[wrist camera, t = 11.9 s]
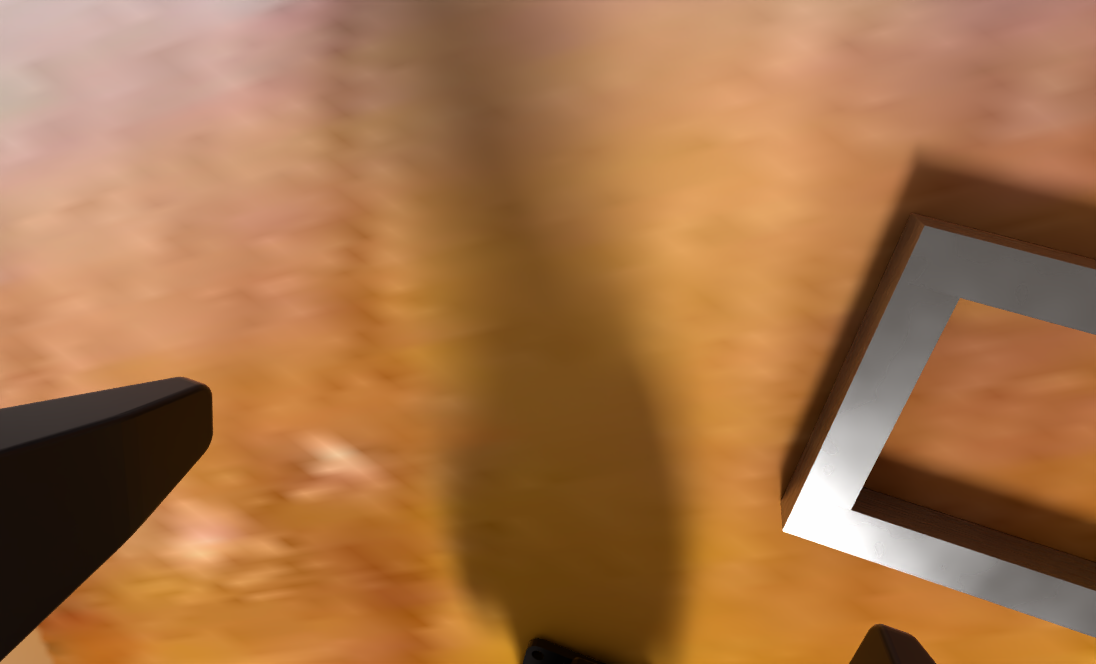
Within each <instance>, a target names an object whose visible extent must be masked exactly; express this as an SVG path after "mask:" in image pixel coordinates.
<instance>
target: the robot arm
mask: <svg viewBox="0 0 1096 664" xmlns="http://www.w3.org/2000/svg"><path fill="white" fill-rule="evenodd" d="M212 436H213V410H212V392H211V390H210V388H209V387H208V386H207V385H205V384H203V383H200V382H197V381H194V380H191V379H189V378H185V377H175V378H169V379H164V380H158V381H152V382H147V383H141V384H136V385H130V386H125V387H119V388H113V389H108V390H102V391H97V392H91V393H86V394H80V395H75V396H69V397H63V398H58V399H52V400H47V401H41V402H36V403H30V404H25V405H19V406H13V407H8V408H2V409H0V662H1V661H2V660H3V659H4V658H5V656H7V655H8V654H9V653H10V652H11V651H12V650H13V649H14V648H15V647H16V646H17V645H18V644H19V643H20V642H22V641H23V640H24V639H25V637H27V636H28V635H29V634H30V633H31V632H32V631H33V630H34V629H35V628H36V627H37V626H38V625H39V624H40V623H41V622H43V621H44V620H45V619H46V618H47V617H48V616H49V615H50V614H51V613H52V612H53V611H54V610H55V609H56V608H57V607H58V606H59V605H60V604H61V603H62V602H64V601H65V600H66V599H67V598H68V597H69V596H70V595H71V594H72V593H73V592H74V591H75V590H76V589H77V588H78V587H79V586H80V585H81V584H82V583H83V582H84V581H86V580H87V579H88V578H89V577H90V576H91V575H92V574H93V573H94V572H95V571H96V570H97V569H98V568H99V567H100V566H101V565H102V564H103V563H104V562H105V561H107V560H108V559H109V558H110V557H111V556H112V555H113V554H114V553H115V552H116V551H117V550H118V549H119V548H120V547H121V546H122V545H123V544H124V543H125V542H126V541H127V540H128V539H129V538H130V537H131V536H132V535H133V534H134V533H135V532H136V531H137V529H138V528H139V527H140V526H141V525H142V524H143V523H144V522H145V521H146V520H147V518H148V517H149V516H150V515H151V514H152V513H153V512H154V510H155V509H156V508H157V507H158V506H159V505H160V504H161V502H162V501H163V500H164V499H165V498H166V497H167V495H168V494H169V493H170V492H171V491H172V490H173V489H174V487H175V486H176V485H177V484H178V483H179V482H180V481H181V479H182V478H183V477H184V476H185V475H186V474H187V472H188V471H189V470H190V469H191V468H192V467H193V466H194V464H195V463H196V462H197V461H198V460H199V459H200V458H201V456H202V455H203V454H204V453H205V452H206V450H207V449H208V447H209V445H210V443H211V440H212ZM539 651H540V652H539ZM523 664H605V663H603V662H600V661H598V660H595V659H592V658H590V657H587V656H585V655H582V654H580V653H577V652H574V651H572V650H569V649H567V648H564V647H562V646H559V645H556V644H554V643H551V642H549V641H546V640H544V639H540V638H535V639H532V640H531V641H530V643H529V645H528V648H527V650H526V654H525V657H524V661H523ZM849 664H936V663H935V661H934V660H933V659H932V658H931V657H930V655H929V654H928V653H927V652H926V650H925V649H924V648H923V647H922V645H921V644H920V643H919V642H918V640H917V639H916V638H915V637H913V636H912V635H910V634H908V633H906V632H903V631H900V630H897V629H894V628H892V627H889V626H886V625H883V624H876V625H874V626H873V627H871V628H870V630H869V631H868V632H867V634H866V636H865V638H864V639H863V641H862V643H861V644H860V646H859V648H858V650H857V651H856V653H855V655H854V656H853V658H852V660H851V661H850V663H849Z"/></svg>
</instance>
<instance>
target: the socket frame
mask: <svg viewBox="0 0 1096 664" xmlns="http://www.w3.org/2000/svg"><path fill="white" fill-rule="evenodd" d="M959 298H963V299H966V300H970V301H974V302H977V303H981V304H985V305H988V306H992V307H996V308H999V309H1003V310H1007V311H1010V312H1014V313H1018V314H1021V315H1025V316H1029V317H1032V318H1036V319H1040V320H1043V321H1047V322H1051V323H1054V324H1058V325H1062V326H1065V327H1069V328H1073V329H1076V330H1080V331H1084V332H1087V333H1091V334H1095V335H1096V260H1095V259H1091V258H1087V257H1083V256H1079V255H1076V254H1072V253H1068V252H1064V251H1060V250H1056V249H1052V248H1048V247H1044V246H1040V245H1036V244H1033V243H1029V242H1025V241H1021V240H1017V239H1013V238H1009V237H1005V236H1001V235H997V234H993V233H990V232H986V231H982V230H978V229H974V228H970V227H966V226H962V225H958V224H954V223H950V222H947V221H943V220H939V219H935V218H931V217H927V216H923V215H919V214H915V213H911V215H910V217H909V219H908V222H907V224H906V226H905V228H904V230H903V233H902V235H901V237H900V239H899V241H898V244H897V246H896V248H895V250H894V252H893V255H892V257H891V259H890V261H889V264H888V266H887V268H886V270H885V272H884V275H883V277H882V279H881V281H880V283H879V286H878V288H877V290H876V292H875V295H874V297H873V299H872V301H871V303H870V306H869V308H868V310H867V312H866V314H865V317H864V319H863V321H862V323H861V325H860V328H859V330H858V332H857V334H856V337H855V339H854V341H853V343H852V345H851V348H850V350H849V352H848V354H847V356H846V359H845V361H844V363H843V365H842V367H841V370H840V372H839V374H838V376H837V379H836V381H835V383H834V385H833V387H832V390H831V392H830V394H829V396H828V398H827V401H826V403H825V405H824V407H823V409H822V412H821V414H820V416H819V418H818V421H817V423H816V425H815V427H814V429H813V432H812V434H811V436H810V438H809V440H808V443H807V445H806V447H805V449H804V452H803V454H802V456H801V458H800V460H799V463H798V465H797V467H796V469H795V471H794V474H793V476H792V478H791V480H790V482H789V485H788V487H787V489H786V491H785V494H784V496H783V498H782V500H781V515H782V529H783V531H784V532H787V533H790V534H793V535H796V536H799V537H802V538H805V539H808V540H811V541H814V542H816V543H819V544H822V545H825V546H828V547H831V548H834V549H837V550H840V551H843V552H846V553H849V554H852V555H855V556H858V557H861V558H863V559H866V560H869V561H872V562H875V563H878V564H881V565H884V566H887V567H890V568H893V569H896V570H899V571H902V572H905V573H908V574H910V575H913V576H916V577H919V578H922V579H925V580H928V581H931V582H934V583H937V584H940V585H943V586H946V587H949V588H952V589H954V590H957V591H960V592H963V593H966V594H969V595H972V596H975V597H978V598H981V599H984V600H987V601H990V602H993V603H996V604H999V605H1001V606H1004V607H1007V608H1010V609H1013V610H1016V611H1019V612H1022V613H1025V614H1028V615H1031V616H1034V617H1037V618H1040V619H1043V620H1046V621H1048V622H1051V623H1054V624H1057V625H1060V626H1063V627H1066V628H1069V629H1072V630H1075V631H1078V632H1081V633H1084V634H1087V635H1090V636H1093V637H1095V638H1096V563H1095V562H1092V561H1089V560H1086V559H1082V558H1079V557H1076V556H1073V555H1070V554H1067V553H1064V552H1061V551H1058V550H1055V549H1052V548H1049V547H1045V546H1042V545H1039V544H1036V543H1033V542H1030V541H1027V540H1024V539H1021V538H1018V537H1015V536H1011V535H1008V534H1005V533H1002V532H999V531H996V530H993V529H990V528H987V527H984V526H981V525H977V524H974V523H971V522H968V521H965V520H962V519H959V518H956V517H953V516H950V515H947V514H943V513H940V512H937V511H934V510H931V509H928V508H925V507H922V506H919V505H916V504H913V503H910V502H906V501H903V500H900V499H897V498H894V497H891V496H888V495H885V494H882V493H879V492H876V491H872V490H869V489H866V488H863V485H864V483H865V481H866V479H867V477H868V475H869V474H870V472H871V470H872V468H873V466H874V464H875V462H876V460H877V458H878V456H879V454H880V452H881V450H882V448H883V446H884V444H885V442H886V440H887V438H888V437H889V435H890V433H891V431H892V429H893V427H894V425H895V423H896V421H897V419H898V417H899V415H900V413H901V411H902V409H903V407H904V405H905V403H906V402H907V400H908V398H909V396H910V394H911V392H912V390H913V388H914V386H915V384H916V382H917V380H918V378H919V376H920V374H921V372H922V370H923V368H924V366H925V365H926V363H927V361H928V359H929V357H930V355H931V353H932V351H933V349H934V347H935V345H936V343H937V341H938V339H939V337H940V335H941V333H942V331H943V330H944V328H945V326H946V324H947V322H948V320H949V318H950V316H951V314H952V312H953V310H954V308H955V306H956V304H957V302H958V300H959Z"/></svg>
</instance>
